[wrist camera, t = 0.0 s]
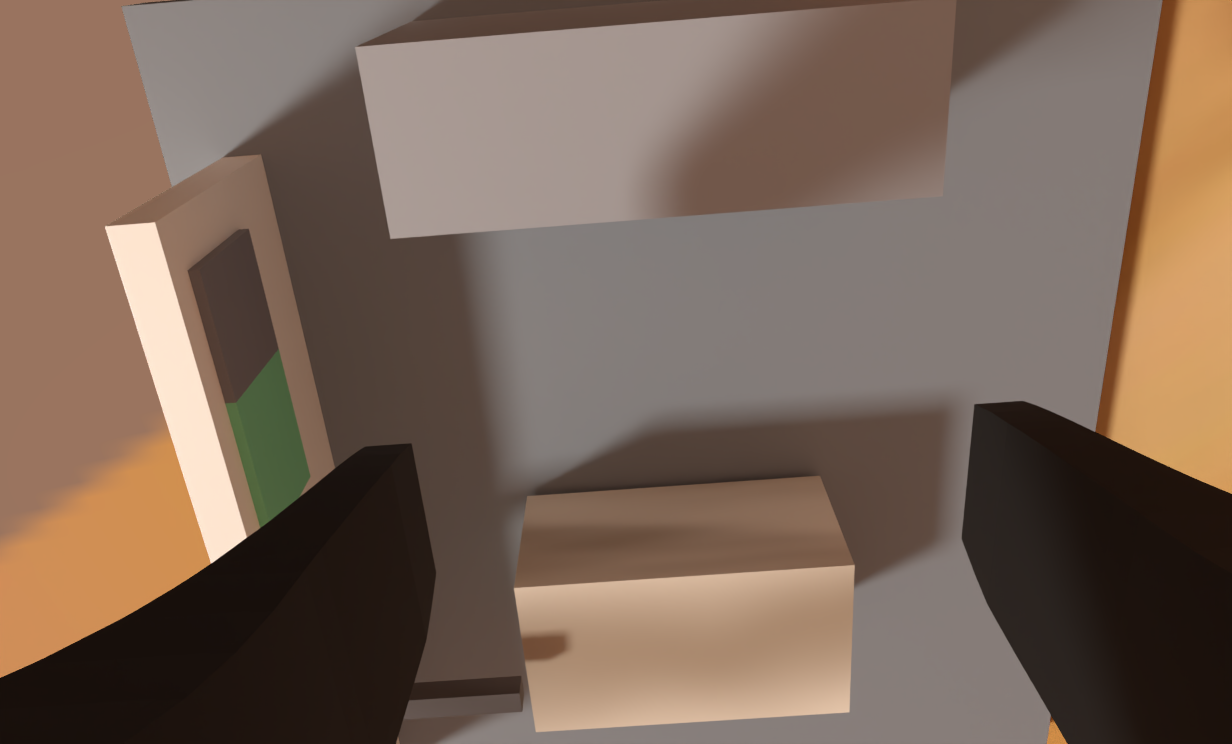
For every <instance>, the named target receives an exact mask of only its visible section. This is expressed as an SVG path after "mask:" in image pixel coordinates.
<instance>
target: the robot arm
mask: <svg viewBox="0 0 1232 744" xmlns="http://www.w3.org/2000/svg"><path fill="white" fill-rule="evenodd" d="M961 539H962V542H963V544H964V547H965V550H966V552H967V555H968V557H969V560H970V563H971V565H972V568H973V571H974V573H975V576H976V578H977V581H978V583H979V586H980V588H981V590H982V593H983V595H984V598H985V600H986V602H987V605H988V606H989V608H990V610H991V612H992V614H993V616H994V617H995V619H996V621H997V623H998V624H999V626H1000V628H1001V630H1002V631H1003V633H1004V635H1005V637H1006V639H1007V640H1008V642H1009V644H1010V646H1011V647H1012V649H1013V651H1014V653H1015V654H1016V656H1017V658H1018V659H1019V661H1020V663H1021V665H1022V666H1023V668H1024V670H1025V671H1026V673H1027V675H1028V677H1029V678H1030V680H1031V682H1032V683H1033V685H1034V687H1035V689H1036V690H1037V692H1038V694H1039V695H1040V697H1041V699H1042V701H1043V702H1044V704H1045V706H1046V707H1047V709H1048V711H1049V713H1050V714H1051V716H1052V718H1053V719H1054V721H1055V723H1056V725H1057V726H1058V728H1059V730H1060V731H1061V733H1062V735H1063V737H1064V738H1065V740H1066V742H1067V743H1068V744H1232V494H1230V493H1228V492H1226V491H1223V490H1221V489H1218V488H1216V487H1214V486H1211V485H1209V484H1206V483H1204V482H1202V481H1199V480H1197V479H1195V478H1192V477H1190V476H1188V475H1186V474H1183V473H1181V472H1179V471H1177V470H1174V469H1172V468H1170V467H1168V466H1166V465H1164V464H1161V463H1159V462H1157V461H1155V460H1153V459H1151V458H1148V457H1146V456H1144V455H1142V454H1140V453H1138V452H1136V451H1134V450H1132V449H1129V448H1127V447H1125V446H1123V445H1121V444H1119V443H1117V442H1115V441H1113V440H1111V439H1109V438H1107V437H1104V436H1102V435H1100V434H1098V433H1096V432H1094V431H1092V430H1090V429H1088V428H1086V427H1084V426H1082V425H1080V424H1077V423H1075V422H1073V421H1071V420H1069V419H1067V418H1065V417H1062V416H1060V415H1058V414H1056V413H1054V412H1051V411H1049V410H1047V409H1044V408H1042V407H1039V406H1037V405H1034V404H1031V403H1028V402H1025V401H1013V402H998V403H984V404H974V413H973V423H972V433H971V444H970V454H969V465H968V475H967V485H966V496H965V506H964V517H963V527H962V538H961ZM435 579H436V569H435V564H434V558H433V553H432V548H431V543H430V537H429V532H428V527H427V522H426V516H425V511H424V506H423V500H422V495H421V490H420V485H419V479H418V474H417V469H416V464H415V458H414V453H413V448H412V443H408V444H393V445H379V446H365V447H363V448H362V449H360V450H359V451H357V452H356V453H354V454H353V455H352V456H350V457H349V458H348V459H346V460H345V461H344V462H342V463H341V464H340V465H339V466H337V467H336V468H335V469H334V470H332V471H331V472H330V473H329V474H327V475H326V476H325V477H324V478H323V479H321V480H320V481H319V482H318V483H316V484H315V485H314V486H313V487H311V488H310V489H309V490H308V491H307V492H305V493H304V494H303V495H302V496H300V497H299V498H298V499H297V500H295V501H294V502H293V503H292V504H290V505H289V506H288V507H287V508H285V509H284V510H283V511H282V512H280V513H279V514H278V515H277V516H275V517H274V518H273V519H271V520H270V521H269V522H268V523H266V524H265V525H264V526H262V527H261V528H259V529H258V530H257V531H255V532H254V533H253V534H251V535H250V536H248V537H247V538H246V539H244V540H243V541H242V542H240V543H239V544H237V545H236V546H235V547H233V548H232V549H231V550H229V551H228V552H226V553H225V554H224V555H222V556H221V557H220V558H218V559H217V560H215V561H214V562H213V563H211V564H210V565H209V566H207V567H206V568H204V569H203V570H201V571H200V572H198V573H197V574H195V575H194V576H192V577H190V578H189V579H187V580H186V581H184V582H183V583H181V584H180V585H178V586H176V587H175V588H173V589H172V590H170V591H168V592H167V593H165V594H163V595H162V596H160V597H158V598H156V599H155V600H153V601H151V602H150V603H148V604H146V605H145V606H143V607H141V608H140V609H138V610H136V611H135V612H133V613H131V614H129V615H127V616H126V617H124V618H122V619H120V620H118V621H116V622H114V623H112V624H111V625H109V626H107V627H105V628H103V629H101V630H99V631H97V632H95V633H93V634H91V635H89V636H87V637H85V638H83V639H81V640H79V641H77V642H75V643H73V644H71V645H69V646H67V647H65V648H63V649H61V650H59V651H57V652H55V653H54V654H52V655H50V656H48V657H46V658H44V659H41V660H39V661H37V662H35V663H33V664H31V665H28V666H26V667H24V668H22V669H19V670H17V671H15V672H13V673H10V674H8V675H6V676H4V677H1V678H0V744H396V742H397V739H398V735H399V732H400V729H401V725H402V722H403V719H404V715H405V712H406V709H407V705H408V702H409V699H410V695H411V692H412V689H413V685H414V682H415V678H416V675H417V671H418V668H419V665H420V661H421V658H422V654H423V651H424V647H425V643H426V640H427V634H428V628H429V621H430V615H431V609H432V601H433V594H434V587H435Z"/></svg>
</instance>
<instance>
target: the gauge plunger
mask: <svg viewBox="0 0 1232 744" xmlns="http://www.w3.org/2000/svg"><path fill="white" fill-rule="evenodd" d="M854 571H855V565H854V562H853V559H852V557H851V554H850V552H849V549H848V547H847V544H846V541H845V539H844V536H843V534H842V531H841V529H840V526H839V523H838V521H837V518H836V516H835V513H834V511H833V508H832V505H831V503H830V500H829V498H828V495H827V493H826V490H825V488H824V485H823V482H822V480H821V477H820V476H808V477H794V478H780V479H765V480H751V481H737V482H723V483H708V484H694V485H680V486H665V487H651V488H637V489H622V490H608V491H594V492H580V493H565V494H551V495H537V496H527V501H526V508H525V515H524V522H523V529H522V536H521V542H520V549H519V556H518V563H517V570H516V577H515V584H514V592H515V598H516V605H517V612H518V618H519V625H520V631H521V638H522V644H523V651H524V658H525V664H526V671H527V677H528V684H529V691H530V697H531V704H532V710H533V717H534V723H535V730H536V732H547V731H563V730H579V729H594V728H610V727H626V726H642V725H657V724H673V723H689V722H705V721H720V720H736V719H752V718H768V717H784V716H799V715H815V714H831V713H847V712H849V709H850V682H851V654H852V626H853V598H854ZM523 701H524V689H523V683H522V676H511V677H495V678H480V679H464V680H449V681H434V682H418V683H414V685H413V689H412V692H411V695H410V699H409V702H408V705H407V709H406V712H405V715H404V719H419V718H435V717H451V716H466V715H482V714H497V713H513V712H522V710H523ZM404 719H403V720H404Z"/></svg>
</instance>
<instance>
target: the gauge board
mask: <svg viewBox="0 0 1232 744" xmlns="http://www.w3.org/2000/svg"><path fill="white" fill-rule="evenodd" d="M1162 1H1163V0H173V1H162V2H149V3H141V4H134V5H128V6H122V9H123V13H124V17H125V20H126V24H127V28H128V31H129V34H130V38H131V42H132V45H133V49H134V53H135V56H136V60H137V63H138V67H139V71H140V74H141V78H142V81H143V85H144V88H145V92H146V96H147V98H148V103H149V106H150V110H151V114H152V117H153V120H154V124H155V127H156V131H157V135H158V139H159V142H160V146H161V149H162V153H163V157H164V160H165V164H166V167H167V171H168V174H169V178H170V181H171V185H172V187H171V188H170V189H168V190H166V191H165V192H163V193H161V194H159V195H158V196H156V197H154V198H153V199H151V200H149V201H147V202H146V203H144V204H142V205H141V206H139V207H137V208H135V209H134V210H132V211H130V212H129V213H127V214H125V215H123V216H122V217H120V218H118V219H117V220H115V221H113V222H111V223H110V224H108V225H106V226H105V228H106V232H107V235H108V238H109V241H110V244H111V247H112V250H113V254H114V257H115V260H116V263H117V266H118V269H119V273H120V276H121V279H122V282H123V285H124V289H125V292H126V295H127V298H128V301H129V304H130V308H131V311H132V314H133V317H134V320H135V323H136V327H137V330H138V333H139V336H140V339H141V343H142V346H143V349H144V352H145V355H146V359H147V361H148V365H149V368H150V371H151V374H152V378H153V381H154V384H155V387H156V390H157V393H158V397H159V400H160V403H161V406H162V409H163V412H164V416H165V419H166V422H167V425H168V428H169V431H170V435H171V438H172V441H173V444H174V447H175V450H176V454H177V457H178V460H179V463H180V466H181V470H182V473H183V476H184V479H185V482H186V485H187V489H188V492H189V495H190V498H191V501H192V504H193V508H194V511H195V514H196V517H197V520H198V523H199V527H200V530H201V533H202V536H203V539H204V542H205V546H206V549H207V552H208V555H209V558H210V562H211V563H213V562H214V561H215V560H217V559H218V558H220V557H221V556H222V555H224V554H225V553H226V552H228V551H229V550H231V549H232V548H233V547H235V546H236V545H237V544H239V543H240V542H242V541H243V540H244V539H246V538H247V537H248V536H250V535H251V534H253V533H254V532H255V531H257V530H258V529H259V528H261V527H262V526H264V525H265V524H266V523H268V522H269V521H270V520H271V519H273V518H274V517H275V516H277V515H278V514H279V513H280V512H282V511H283V510H284V509H285V508H287V507H288V506H289V505H290V504H292V503H293V502H294V501H295V500H297V499H298V498H299V497H300V496H302V495H303V494H304V493H305V492H307V491H308V490H309V489H310V488H311V487H313V486H314V485H315V484H316V483H318V482H319V481H320V480H321V479H323V478H324V477H325V476H326V475H327V474H329V473H330V472H331V471H332V470H334V469H335V468H336V467H337V466H339V465H340V464H341V463H342V462H344V461H345V460H346V459H348V458H349V457H350V456H352V455H353V454H354V453H356V452H357V451H359V450H360V449H362V448H363V447H365V446H379V445H393V444H408V443H412V448H413V453H414V458H415V464H416V469H417V474H418V479H419V485H420V490H421V495H422V500H423V506H424V511H425V516H426V522H427V527H428V532H429V537H430V543H431V548H432V553H433V558H434V564H435V569H436V579H435V587H434V594H433V601H432V609H431V615H430V621H429V628H428V634H427V640H426V643H425V647H424V651H423V654H422V658H421V661H420V665H419V668H418V671H417V675H416V678H415V682H414V683H418V682H434V681H449V680H464V679H480V678H495V677H511V676H522V683H523V689H524V701H523V710H522V712H513V713H497V714H482V715H466V716H451V717H435V718H419V719H404V720H403V722H402V725H401V729H400V732H399V735H398V739H397V742H396V744H1047V738H1048V731H1049V725H1050V719H1051V714H1050V713H1049V711H1048V709H1047V707H1046V706H1045V704H1044V702H1043V701H1042V699H1041V697H1040V695H1039V694H1038V692H1037V690H1036V689H1035V687H1034V685H1033V683H1032V682H1031V680H1030V678H1029V677H1028V675H1027V673H1026V671H1025V670H1024V668H1023V666H1022V665H1021V663H1020V661H1019V659H1018V658H1017V656H1016V654H1015V653H1014V651H1013V649H1012V647H1011V646H1010V644H1009V642H1008V640H1007V639H1006V637H1005V635H1004V633H1003V631H1002V630H1001V628H1000V626H999V624H998V623H997V621H996V619H995V617H994V616H993V614H992V612H991V610H990V608H989V606H988V605H987V602H986V600H985V598H984V595H983V593H982V590H981V588H980V586H979V583H978V581H977V578H976V576H975V573H974V571H973V568H972V565H971V563H970V560H969V557H968V555H967V552H966V550H965V547H964V544H963V542H962V539H961V538H962V527H963V517H964V506H965V496H966V485H967V475H968V465H969V454H970V444H971V433H972V423H973V413H974V404H984V403H998V402H1013V401H1025V402H1028V403H1031V404H1034V405H1037V406H1039V407H1042V408H1044V409H1047V410H1049V411H1051V412H1054V413H1056V414H1058V415H1060V416H1062V417H1065V418H1067V419H1069V420H1071V421H1073V422H1075V423H1077V424H1080V425H1082V426H1084V427H1086V428H1088V429H1090V430H1092V431H1094V432H1095V430H1096V424H1097V417H1098V411H1099V405H1100V398H1101V392H1102V385H1103V379H1104V373H1105V366H1106V360H1107V353H1108V347H1109V340H1110V334H1111V328H1112V321H1113V315H1114V308H1115V302H1116V296H1117V289H1118V283H1119V276H1120V270H1121V264H1122V257H1123V251H1124V244H1125V238H1126V232H1127V225H1128V219H1129V212H1130V206H1131V199H1132V193H1133V187H1134V180H1135V174H1136V167H1137V161H1138V155H1139V148H1140V142H1141V135H1142V129H1143V123H1144V116H1145V110H1146V103H1147V97H1148V91H1149V84H1150V78H1151V71H1152V65H1153V59H1154V52H1155V46H1156V39H1157V33H1158V26H1159V20H1160V14H1161V7H1162ZM808 476H820V477H821V480H822V482H823V485H824V488H825V490H826V493H827V495H828V498H829V500H830V503H831V505H832V508H833V511H834V513H835V516H836V518H837V521H838V523H839V526H840V529H841V531H842V534H843V536H844V539H845V541H846V544H847V547H848V549H849V552H850V554H851V557H852V559H853V562H854V565H855V571H854V598H853V626H852V654H851V682H850V709H849V712H847V713H831V714H815V715H799V716H784V717H768V718H752V719H736V720H720V721H705V722H689V723H673V724H657V725H642V726H626V727H610V728H594V729H579V730H563V731H547V732H536V730H535V723H534V717H533V710H532V704H531V697H530V691H529V684H528V677H527V671H526V664H525V658H524V651H523V644H522V638H521V631H520V625H519V618H518V612H517V605H516V598H515V592H514V584H515V577H516V570H517V563H518V556H519V549H520V542H521V536H522V529H523V522H524V515H525V508H526V501H527V496H537V495H551V494H565V493H580V492H594V491H608V490H622V489H637V488H651V487H665V486H680V485H694V484H708V483H723V482H737V481H751V480H765V479H780V478H794V477H808Z"/></svg>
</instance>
